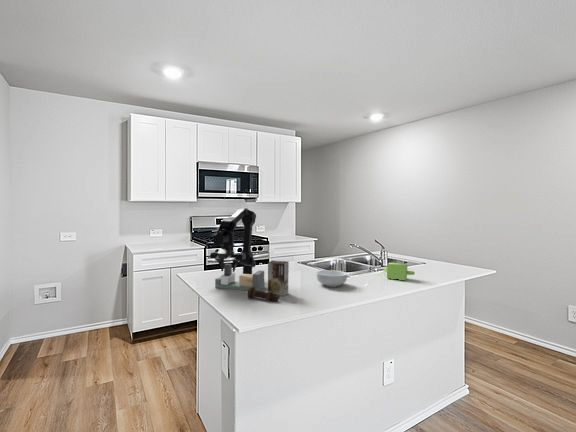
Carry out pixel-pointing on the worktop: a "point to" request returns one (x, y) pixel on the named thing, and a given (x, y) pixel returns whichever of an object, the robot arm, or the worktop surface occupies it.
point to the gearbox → (397, 271)
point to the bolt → (262, 294)
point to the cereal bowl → (331, 277)
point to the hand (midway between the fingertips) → (227, 271)
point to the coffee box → (278, 277)
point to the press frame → (257, 283)
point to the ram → (227, 275)
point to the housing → (246, 280)
